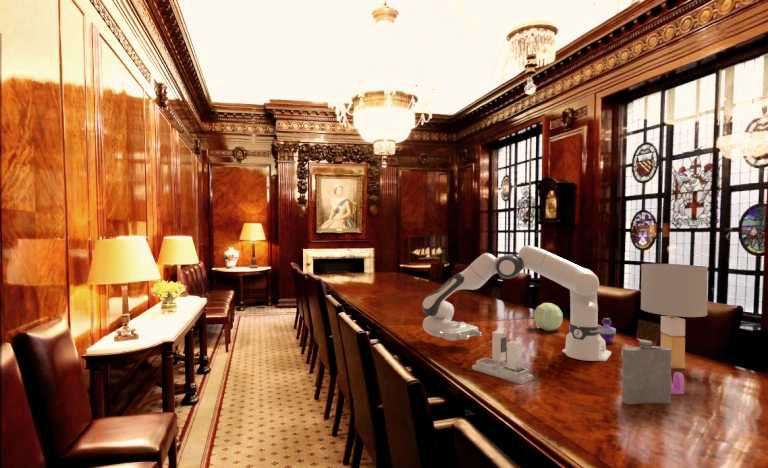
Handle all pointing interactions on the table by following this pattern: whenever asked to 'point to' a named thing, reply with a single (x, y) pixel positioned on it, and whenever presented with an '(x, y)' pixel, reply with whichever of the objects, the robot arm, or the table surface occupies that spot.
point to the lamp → (674, 301)
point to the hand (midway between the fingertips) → (474, 336)
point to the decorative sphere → (548, 316)
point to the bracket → (677, 383)
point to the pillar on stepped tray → (509, 371)
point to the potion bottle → (607, 331)
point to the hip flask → (646, 374)
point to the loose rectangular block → (499, 345)
